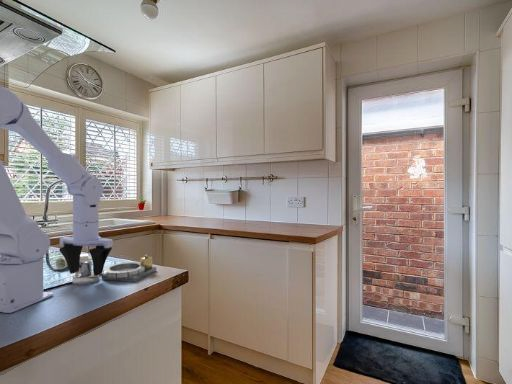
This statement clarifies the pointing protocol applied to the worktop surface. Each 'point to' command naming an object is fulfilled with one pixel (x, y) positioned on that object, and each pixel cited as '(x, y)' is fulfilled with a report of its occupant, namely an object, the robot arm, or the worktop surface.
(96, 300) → the worktop surface
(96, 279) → the silver stemmed round piece
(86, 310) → the worktop surface
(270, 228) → the worktop surface
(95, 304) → the worktop surface
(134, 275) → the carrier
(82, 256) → the pipe fitting
